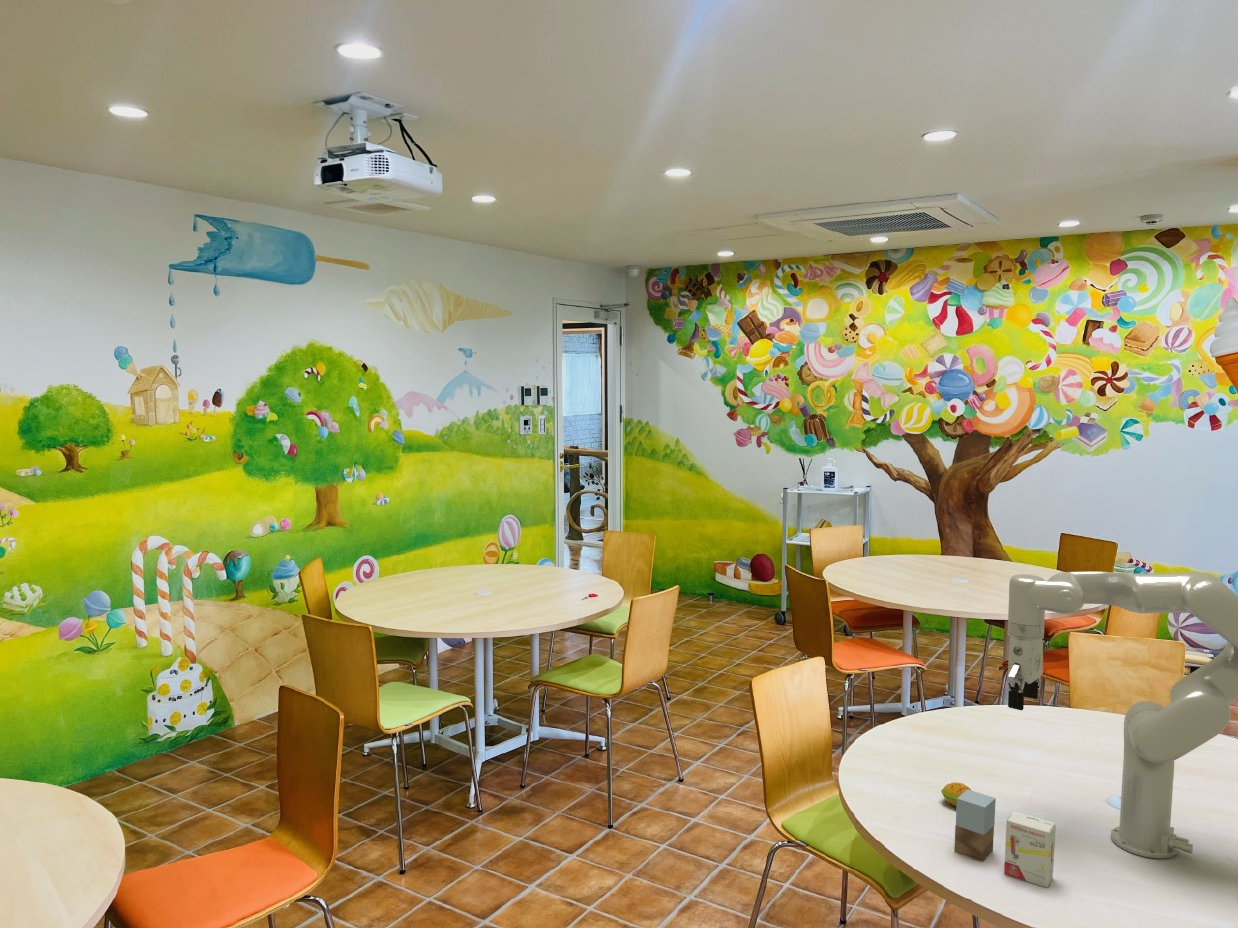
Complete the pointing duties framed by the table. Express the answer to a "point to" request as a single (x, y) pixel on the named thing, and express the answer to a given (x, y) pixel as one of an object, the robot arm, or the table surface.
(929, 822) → the table surface
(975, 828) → the gray block
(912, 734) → the table surface
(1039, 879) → the ink box
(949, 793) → the toy pineapple
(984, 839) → the walnut block
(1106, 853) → the table surface
